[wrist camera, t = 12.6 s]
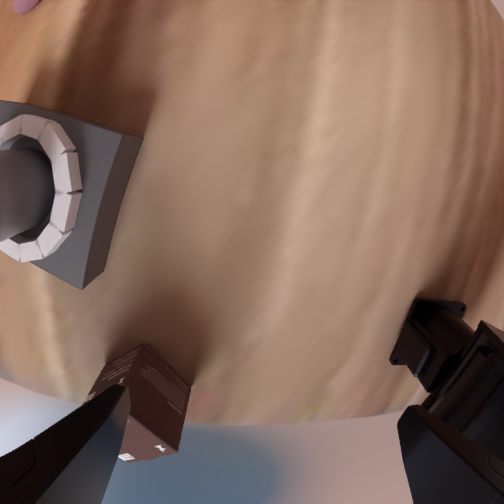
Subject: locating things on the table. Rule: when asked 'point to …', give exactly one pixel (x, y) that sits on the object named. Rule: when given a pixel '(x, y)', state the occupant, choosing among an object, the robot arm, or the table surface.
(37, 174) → the grey travel tumbler
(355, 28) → the table surface
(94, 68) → the table surface
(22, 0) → the video game controller
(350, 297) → the table surface
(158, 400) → the box
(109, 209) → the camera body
